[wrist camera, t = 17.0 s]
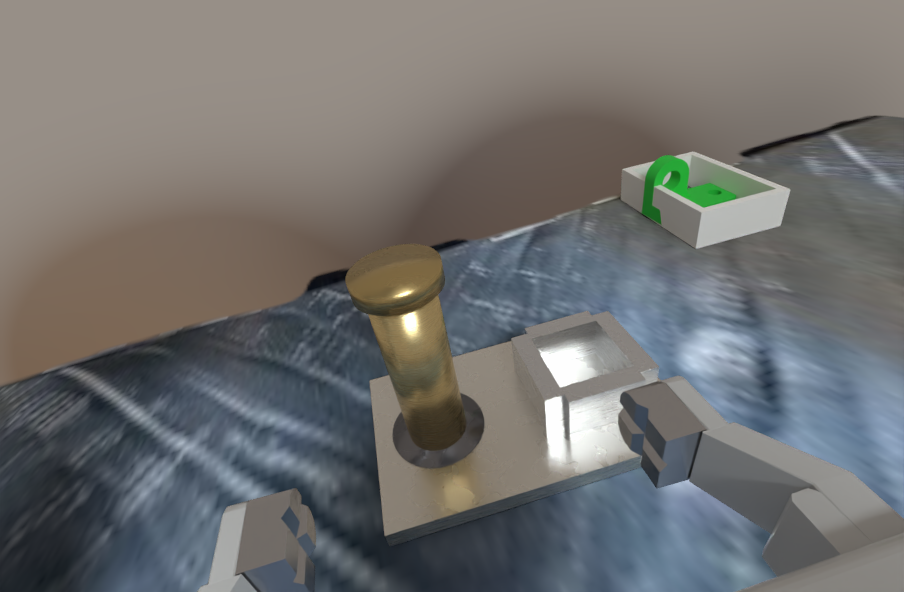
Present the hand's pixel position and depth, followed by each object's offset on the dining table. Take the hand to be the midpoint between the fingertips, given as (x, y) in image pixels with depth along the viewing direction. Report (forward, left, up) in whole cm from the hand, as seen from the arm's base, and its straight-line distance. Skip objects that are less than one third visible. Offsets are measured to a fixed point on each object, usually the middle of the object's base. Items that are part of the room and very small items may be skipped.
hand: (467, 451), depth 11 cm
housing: (+6, +19, -23) cm, 30 cm away
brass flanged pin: (-1, +19, -21) cm, 28 cm away
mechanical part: (+42, +45, -23) cm, 66 cm away
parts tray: (+42, +45, -23) cm, 66 cm away
